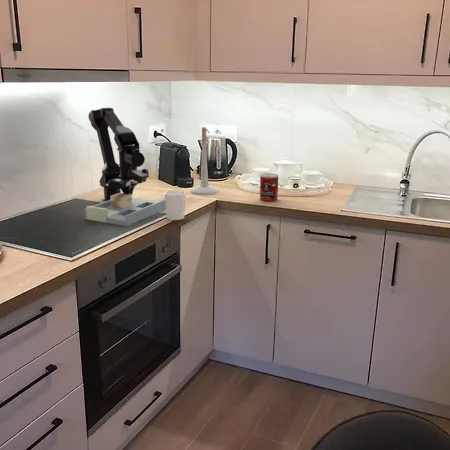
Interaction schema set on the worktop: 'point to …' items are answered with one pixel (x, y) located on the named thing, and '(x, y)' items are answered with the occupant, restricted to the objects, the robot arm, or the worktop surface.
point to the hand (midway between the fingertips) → (129, 200)
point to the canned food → (269, 187)
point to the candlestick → (204, 172)
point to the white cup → (175, 204)
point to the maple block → (121, 200)
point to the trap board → (124, 211)
